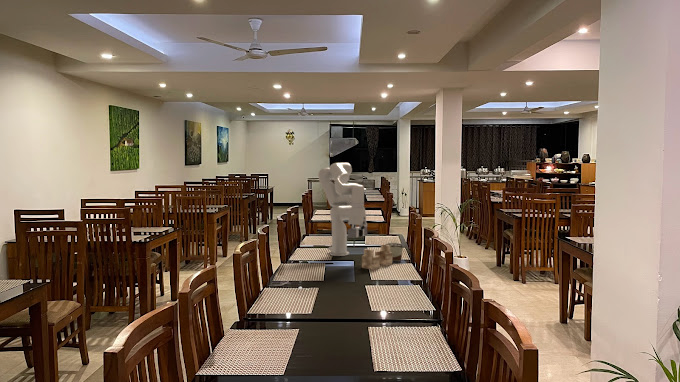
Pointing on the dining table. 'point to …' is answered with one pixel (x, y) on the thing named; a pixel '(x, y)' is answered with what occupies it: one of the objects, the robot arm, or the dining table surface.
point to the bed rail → (356, 232)
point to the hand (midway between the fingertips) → (357, 235)
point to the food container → (396, 251)
